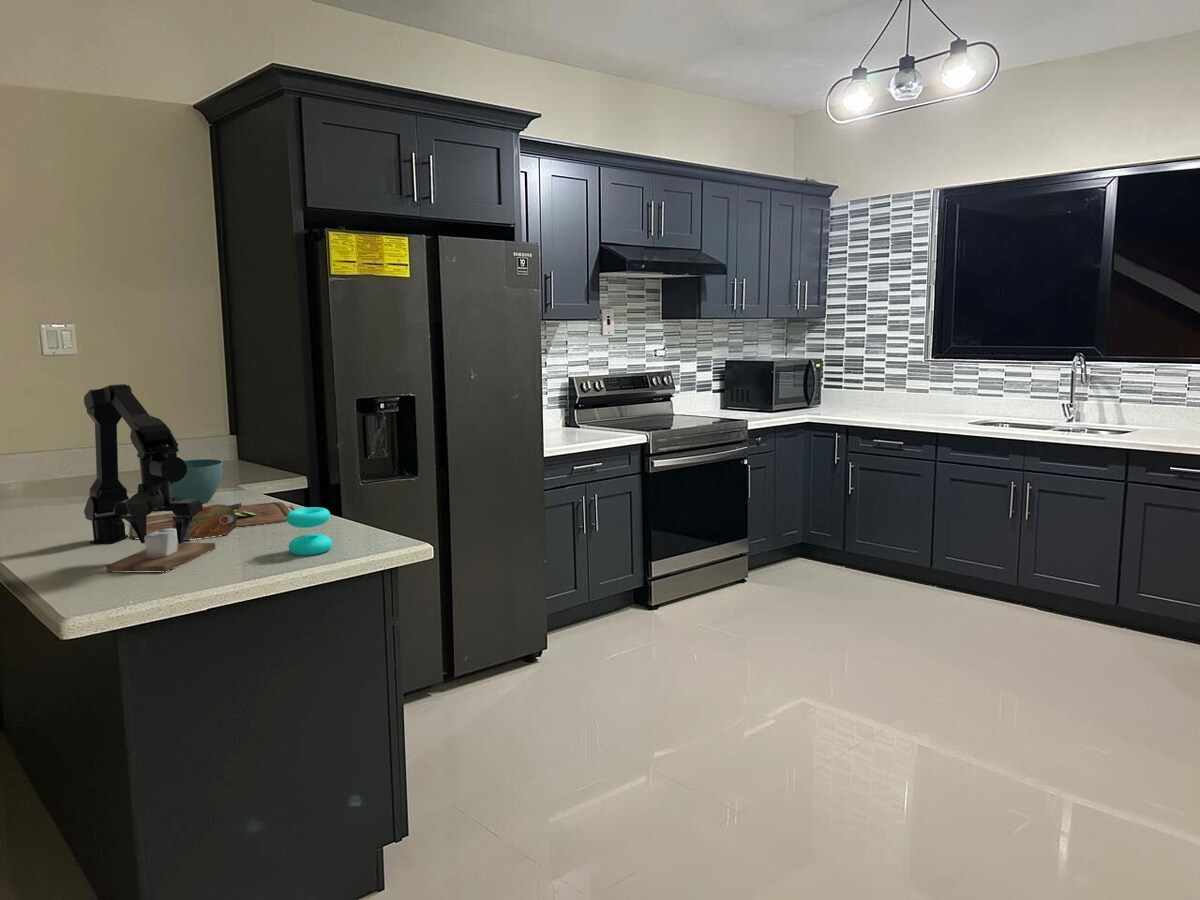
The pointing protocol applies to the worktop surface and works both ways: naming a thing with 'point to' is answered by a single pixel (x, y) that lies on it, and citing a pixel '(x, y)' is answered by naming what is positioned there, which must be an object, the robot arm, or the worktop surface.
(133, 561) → the walnut board
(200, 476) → the teal bowl
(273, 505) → the chopping board
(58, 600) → the worktop surface
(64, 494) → the worktop surface
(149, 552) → the smooth grey rounded block
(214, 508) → the tin
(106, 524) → the robot arm
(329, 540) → the donuts
